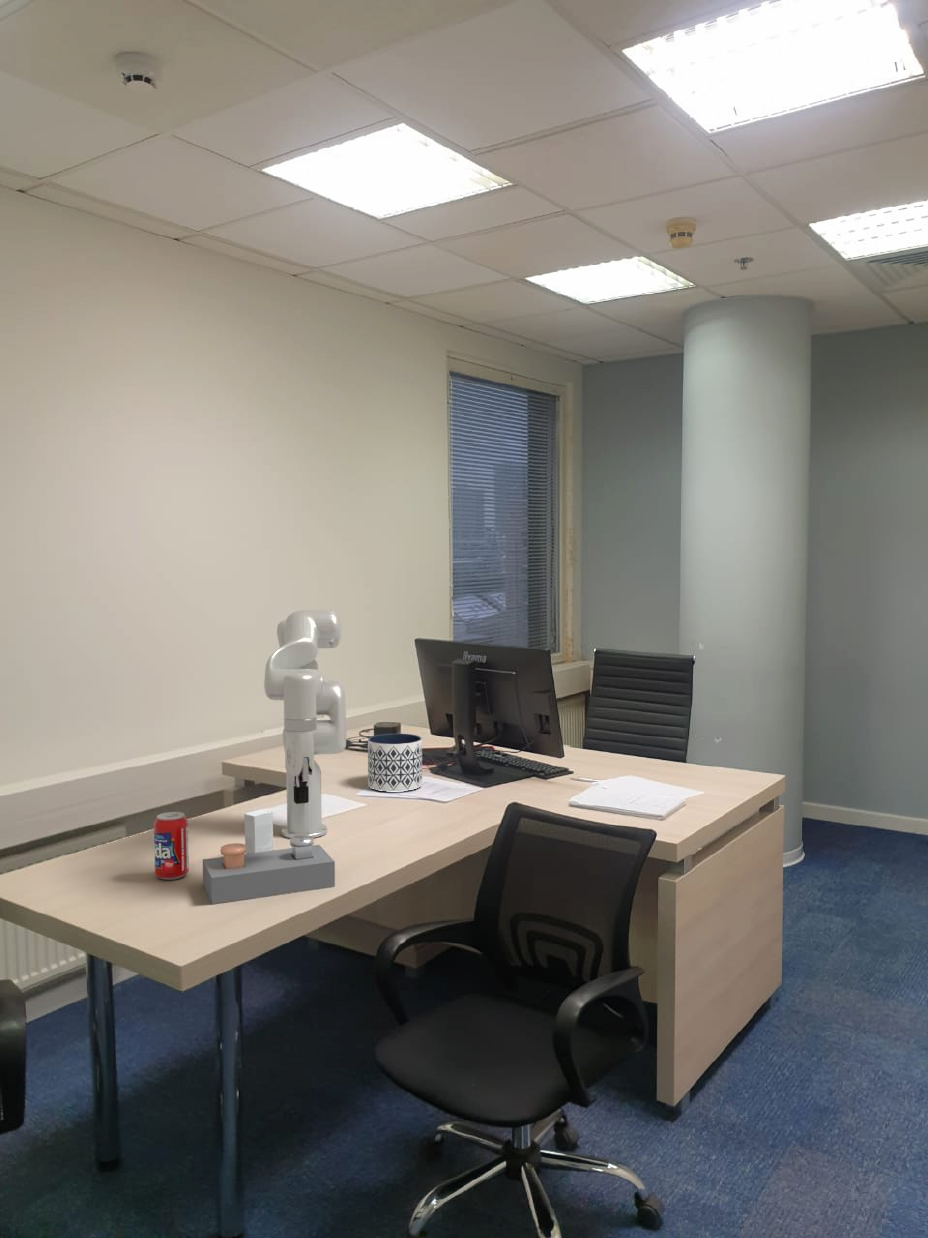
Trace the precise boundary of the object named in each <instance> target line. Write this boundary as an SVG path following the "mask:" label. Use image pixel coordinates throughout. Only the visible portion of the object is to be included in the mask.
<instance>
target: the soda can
mask: <svg viewBox="0 0 928 1238" xmlns="http://www.w3.org/2000/svg"><path fill="white" fill-rule="evenodd" d="M153 843H154V844H153V846H154V847H153V849H154V851H153V852H154V853H153V855H154V875H155V877H157V878H159V879H160V880H163V881H174V880H179V879H182V878H184V876H186V875H187V874H188V873H189V871H190V860H189V859H190V856H189V853H190V851H189V850H190V849H189V820H188V819H187V818H186V815H185V813H183V812H180V811H171V812H170V811H169V812H162V813H160V814H157V815H156V819H155V821H154V822H153Z"/></svg>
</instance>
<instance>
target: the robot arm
mask: <svg viewBox="0 0 928 1238" xmlns="http://www.w3.org/2000/svg"><path fill="white" fill-rule="evenodd" d="M276 636H277V641H278V645H279V648H278V649H276V650H275V651H274V652H273V653H272V654H271V655H270V656H269V658H268V659H267V662H266V664H265V670H264V680H263V688H264V692H265V695H266V697H267V698H268V699H270V701H271V700H272V701H283V730H282V743H283V750H284V757H285V761H284V763H285V764H284V768H285V770H286V771H285V772H286V774H285V775H286V825H285V826H284V827H283V828H282V829H281V835H282V836H283V837H285V838H288V839H290V838H291V837H294V836H299V835H309V836H312V837H314V839H315V838H319V837H321V836H324V835H326V834H327V833H328V827H327V825H325V824H323V823H322V821H323V820H322V814H323V813H322V770H321V767H320V765H319V764H318V763H317V761H316V760H315V756H316V755H317V756H318V755H336V754H340V753H343V752H344V751H345V750H346V747H347V712H346V711H347V706H346V705H347V704H346V692H345V689H344V687H343V685H342V684H341V683H340V682H338V681H335V680H334V681H333V680H326V681H325V678H324V675H322V673H321V672H320V670H319V665H318V662H317V660H316V657H317V655H318V654H319V653H318V652H319V649H335V648H337V647H338V646H339V645H340V641H341V638H342V622H341V620H340V617H339V615H338V614H337V613H336V612H335V611H333V610H330V609H329V610H328V609H325V610H324V609H323V610H321V609H320V610H318V609H317V610H313V609H312V610H310V609H309V610H305V609H303V610H296V611H294V612H291V613H290V614H289V615H288V616H287V618H286V619H284V620H281V621H280V622H279V623H278V624H277V626H276ZM317 716H327V717H329V719H320V720H319V719H317Z"/></svg>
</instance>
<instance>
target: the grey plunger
mask: <svg viewBox="0 0 928 1238" xmlns="http://www.w3.org/2000/svg"><path fill="white" fill-rule="evenodd" d="M314 843H315V838H314V837H312V836H309V835H299V836H294V837H291V838H289V845H290V847H291V848H292V857H293V859H294V860H299V859H307V858H312V845H314Z"/></svg>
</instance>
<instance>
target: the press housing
mask: <svg viewBox="0 0 928 1238" xmlns="http://www.w3.org/2000/svg"><path fill="white" fill-rule="evenodd" d="M335 862H336V861H335V860H334V858H332V856H331V855H329V853H328V852H327V851H326V850H325V849H324V848H323V847H322V846H321V845H320V844H315V845H314V844H313V845H312V858H307V859H299V860H294V859H293V857H292V847H290V848H289V847H288V848H283V849H274V850H273V851H265V852H257V853H249V854H246V853H244V867H239V868H232V869H225V868H224V866H223V856H220V857H211V858H204V859H202V885H203V887H204V889H205V892H206V894H207V896H208V898H209V900H210V903H211V905H213V906H214V905H219V904H226V903H232V902H238V901H239V900H240V901H246V900H253V898H254V899H260V898H267V897H272V896H271V895H274V896H279V895H278V894H281V895H286V894H285V893H288V894H292V893H291V892H294V893H299V892H298V891H301V892H307V891H306V890H308V891H313V890H312V889H315V890H319V889H318V888H322V889H326V888H325V887H329V888H334V886H335V887H336V874H335V873H336V869H335V868H336V867H335V866H336V863H335ZM266 896H267V897H266ZM259 897H260V898H259Z"/></svg>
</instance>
